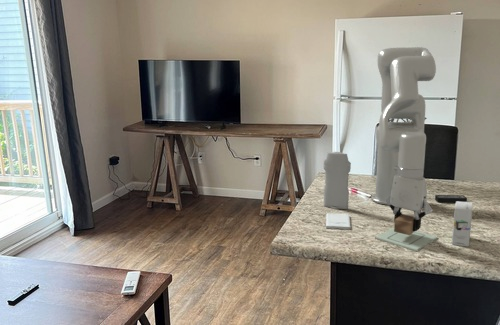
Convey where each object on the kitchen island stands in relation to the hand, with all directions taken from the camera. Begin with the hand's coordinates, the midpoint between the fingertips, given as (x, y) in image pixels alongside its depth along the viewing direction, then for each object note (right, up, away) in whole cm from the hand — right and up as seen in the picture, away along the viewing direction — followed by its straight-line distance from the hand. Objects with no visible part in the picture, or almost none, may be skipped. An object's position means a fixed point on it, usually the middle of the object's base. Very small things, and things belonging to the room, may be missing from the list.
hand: (406, 227), depth 142 cm
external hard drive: (-19, -1, +16) cm, 25 cm away
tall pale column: (-17, +3, +31) cm, 36 cm away
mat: (0, -4, +1) cm, 4 cm away
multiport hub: (+30, +5, +36) cm, 47 cm away
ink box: (+16, -4, -1) cm, 17 cm away
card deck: (0, -1, 0) cm, 1 cm away
